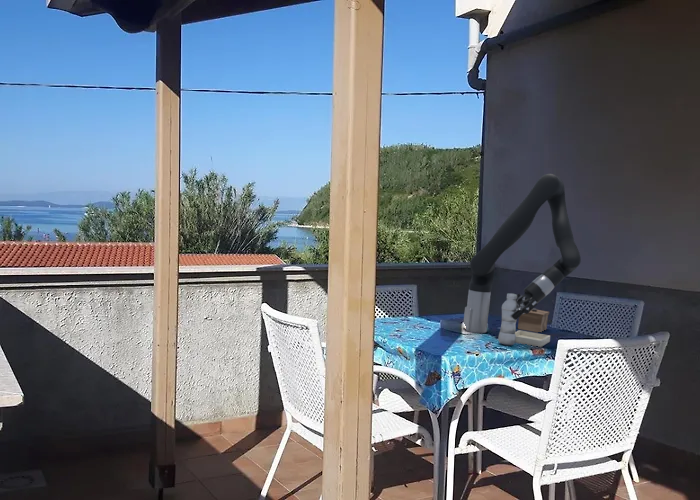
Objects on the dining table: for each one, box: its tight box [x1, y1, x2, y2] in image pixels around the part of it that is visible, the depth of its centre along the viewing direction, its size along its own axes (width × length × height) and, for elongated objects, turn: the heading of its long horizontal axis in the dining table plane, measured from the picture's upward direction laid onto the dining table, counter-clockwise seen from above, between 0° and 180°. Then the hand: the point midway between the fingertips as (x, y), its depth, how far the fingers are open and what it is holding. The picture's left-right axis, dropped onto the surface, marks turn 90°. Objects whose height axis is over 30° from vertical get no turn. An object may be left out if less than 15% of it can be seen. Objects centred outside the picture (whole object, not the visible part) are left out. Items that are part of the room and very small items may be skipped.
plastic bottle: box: [497, 292, 519, 346], centre depth 262 cm, size 6×7×20 cm
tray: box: [514, 329, 551, 348], centre depth 274 cm, size 16×13×2 cm
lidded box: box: [517, 307, 550, 333], centre depth 304 cm, size 13×11×9 cm
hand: (508, 316), depth 262 cm, fingers open, 8 cm apart
